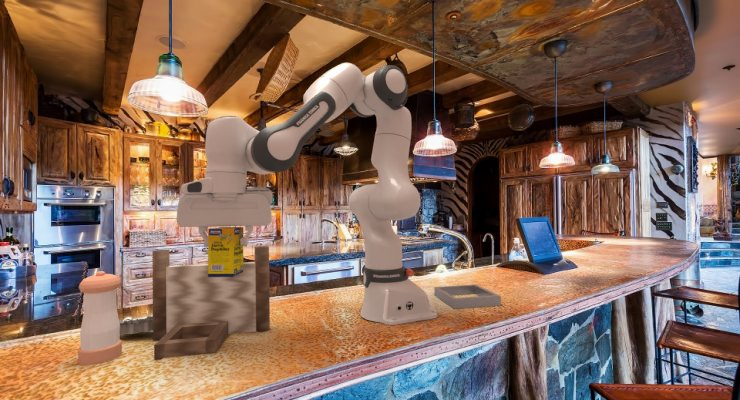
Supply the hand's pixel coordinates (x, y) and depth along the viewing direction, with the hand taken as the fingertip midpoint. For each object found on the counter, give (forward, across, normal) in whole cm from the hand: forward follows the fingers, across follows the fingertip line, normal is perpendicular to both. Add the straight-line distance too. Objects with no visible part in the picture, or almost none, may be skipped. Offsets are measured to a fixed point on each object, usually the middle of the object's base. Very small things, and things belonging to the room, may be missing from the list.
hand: (226, 246), depth 78 cm
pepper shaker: (+24, +25, +1) cm, 35 cm away
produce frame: (+23, -71, -23) cm, 78 cm away
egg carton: (+24, +24, -14) cm, 37 cm away
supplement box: (+7, 0, 0) cm, 7 cm away
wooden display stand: (+24, +7, -1) cm, 25 cm away
